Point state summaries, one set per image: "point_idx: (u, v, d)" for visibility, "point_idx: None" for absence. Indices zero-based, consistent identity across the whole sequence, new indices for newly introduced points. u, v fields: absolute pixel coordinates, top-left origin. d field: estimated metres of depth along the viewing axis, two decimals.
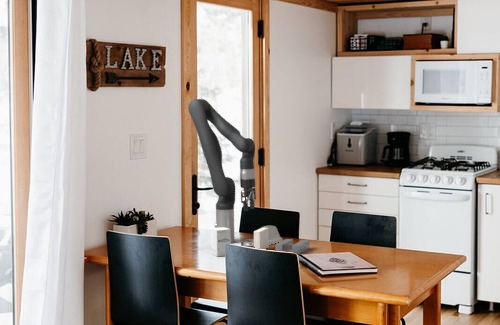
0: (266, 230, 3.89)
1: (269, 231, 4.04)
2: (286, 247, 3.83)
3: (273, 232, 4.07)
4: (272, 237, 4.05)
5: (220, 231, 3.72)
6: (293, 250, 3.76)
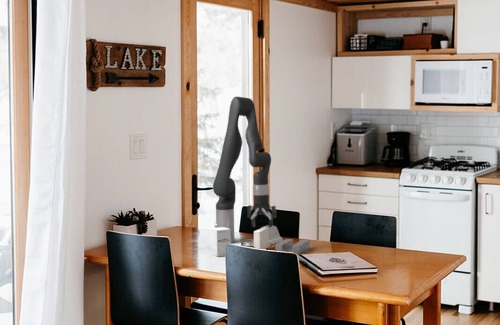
0: (266, 230, 3.89)
1: (269, 231, 4.05)
2: (286, 247, 3.83)
3: (273, 232, 4.07)
4: (272, 237, 4.05)
5: (220, 231, 3.72)
6: (293, 250, 3.76)
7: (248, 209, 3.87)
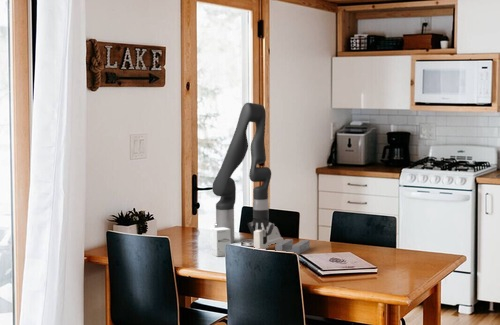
0: None
1: None
2: (286, 247, 3.83)
3: (274, 232, 4.07)
4: (272, 237, 4.05)
5: (220, 231, 3.72)
6: (293, 250, 3.76)
7: (249, 226, 3.87)
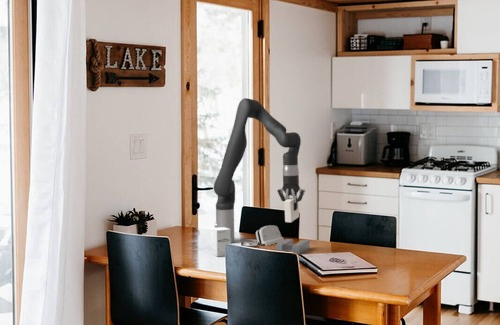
0: None
1: (270, 231, 4.05)
2: (286, 247, 3.83)
3: (274, 232, 4.07)
4: (273, 237, 4.05)
5: (220, 231, 3.72)
6: (293, 250, 3.76)
7: (279, 193, 3.83)
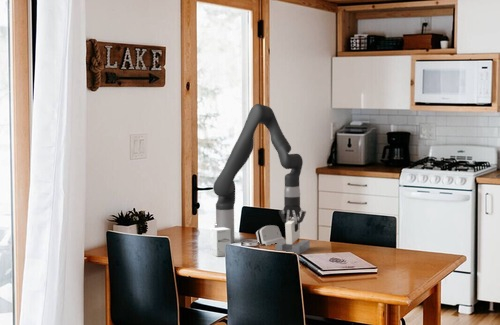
0: None
1: (270, 231, 4.05)
2: (286, 247, 3.83)
3: (275, 232, 4.08)
4: (273, 237, 4.05)
5: (220, 231, 3.72)
6: (293, 250, 3.76)
7: (280, 214, 3.84)
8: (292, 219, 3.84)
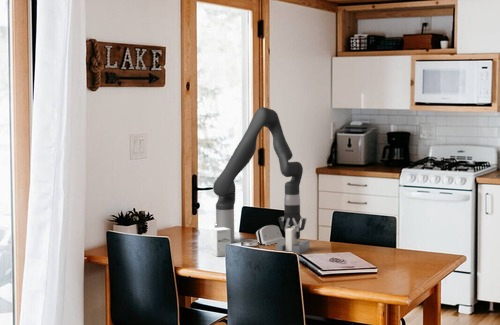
0: None
1: (271, 231, 4.05)
2: None
3: (275, 232, 4.08)
4: (274, 237, 4.06)
5: (220, 231, 3.72)
6: (293, 250, 3.76)
7: (280, 221, 3.84)
8: (292, 227, 3.85)
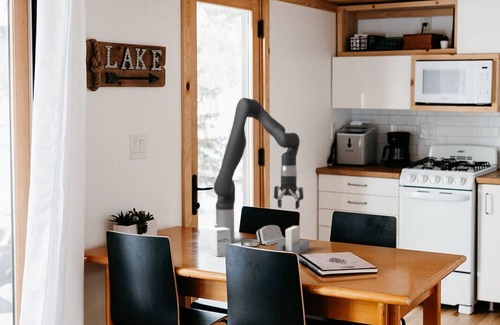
0: (297, 228, 3.86)
1: (271, 231, 4.06)
2: None
3: (275, 232, 4.08)
4: (274, 237, 4.06)
5: (220, 231, 3.72)
6: (293, 250, 3.76)
7: (275, 190, 3.85)
8: (292, 227, 3.85)
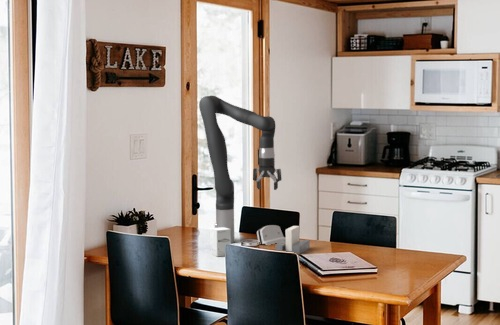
0: (297, 228, 3.86)
1: (271, 231, 4.06)
2: None
3: (276, 232, 4.08)
4: (274, 237, 4.06)
5: (220, 231, 3.72)
6: (293, 250, 3.76)
7: (254, 172, 3.97)
8: (292, 227, 3.85)
